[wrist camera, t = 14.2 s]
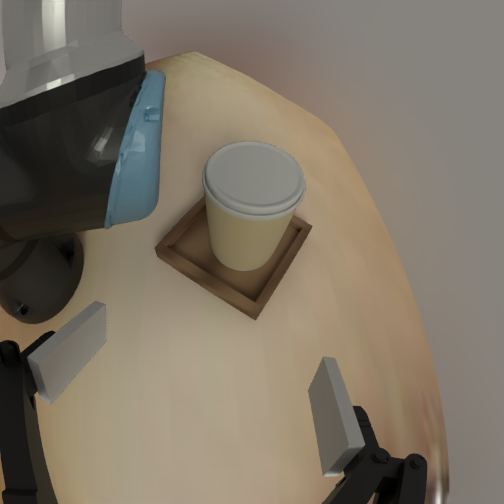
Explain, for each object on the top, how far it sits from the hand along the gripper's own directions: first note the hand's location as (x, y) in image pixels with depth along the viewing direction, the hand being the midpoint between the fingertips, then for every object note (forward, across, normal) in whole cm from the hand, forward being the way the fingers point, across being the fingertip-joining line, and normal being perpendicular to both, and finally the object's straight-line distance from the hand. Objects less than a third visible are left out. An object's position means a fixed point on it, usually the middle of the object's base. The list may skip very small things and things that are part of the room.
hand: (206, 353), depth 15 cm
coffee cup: (+20, 0, +2) cm, 20 cm away
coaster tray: (+21, -1, +2) cm, 21 cm away
